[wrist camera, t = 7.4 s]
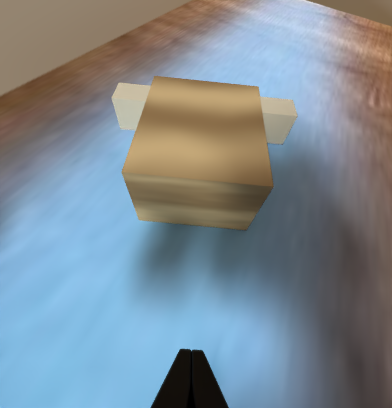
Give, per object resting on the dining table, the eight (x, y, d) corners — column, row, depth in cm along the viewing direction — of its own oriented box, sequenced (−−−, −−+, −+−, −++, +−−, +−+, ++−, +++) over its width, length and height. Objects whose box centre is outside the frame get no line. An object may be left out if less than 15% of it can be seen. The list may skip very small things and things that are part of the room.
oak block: (245, 231, 20) (273, 186, 14) (139, 221, 20) (121, 172, 14) (240, 142, 26) (258, 86, 20) (160, 134, 26) (154, 75, 20)
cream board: (282, 144, 26) (299, 114, 22) (120, 129, 26) (110, 95, 22) (278, 128, 28) (293, 97, 24) (126, 113, 27) (118, 79, 24)
